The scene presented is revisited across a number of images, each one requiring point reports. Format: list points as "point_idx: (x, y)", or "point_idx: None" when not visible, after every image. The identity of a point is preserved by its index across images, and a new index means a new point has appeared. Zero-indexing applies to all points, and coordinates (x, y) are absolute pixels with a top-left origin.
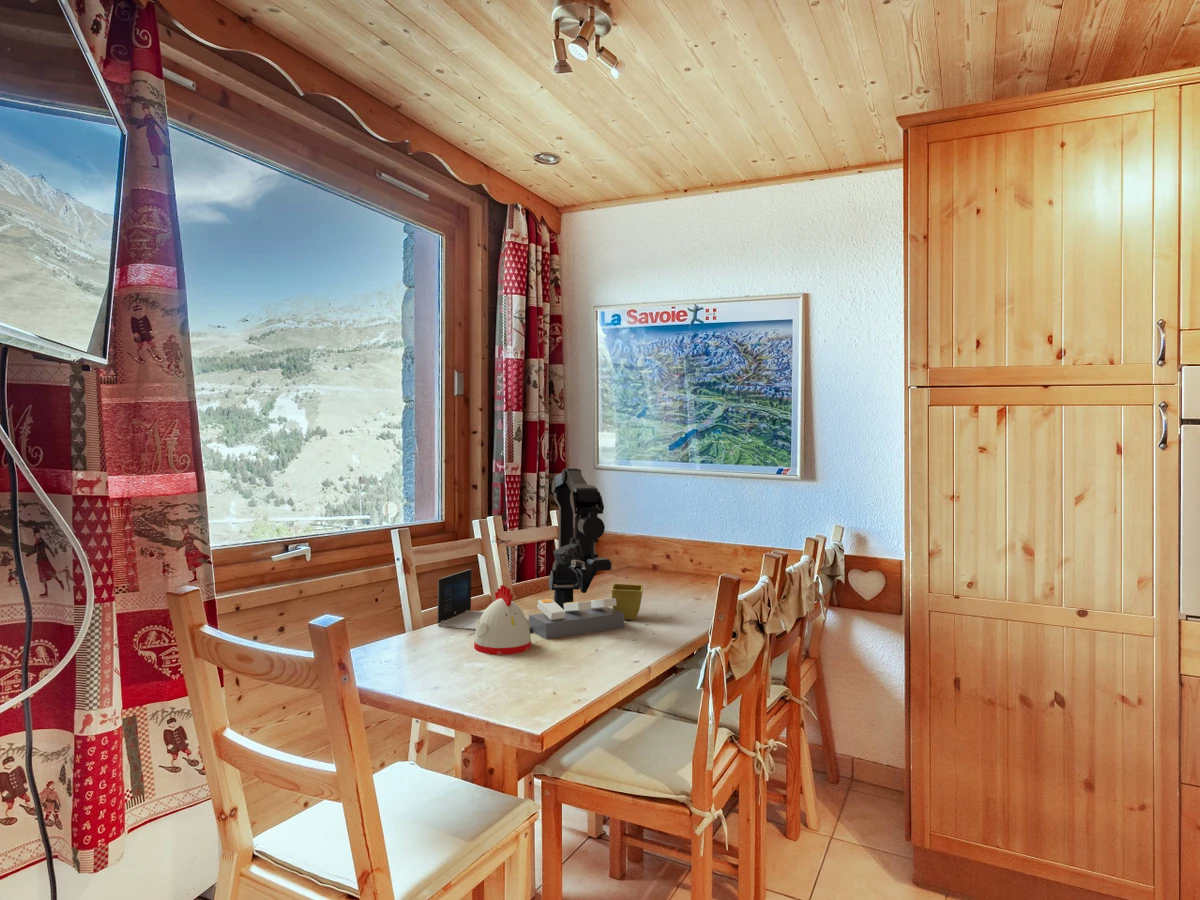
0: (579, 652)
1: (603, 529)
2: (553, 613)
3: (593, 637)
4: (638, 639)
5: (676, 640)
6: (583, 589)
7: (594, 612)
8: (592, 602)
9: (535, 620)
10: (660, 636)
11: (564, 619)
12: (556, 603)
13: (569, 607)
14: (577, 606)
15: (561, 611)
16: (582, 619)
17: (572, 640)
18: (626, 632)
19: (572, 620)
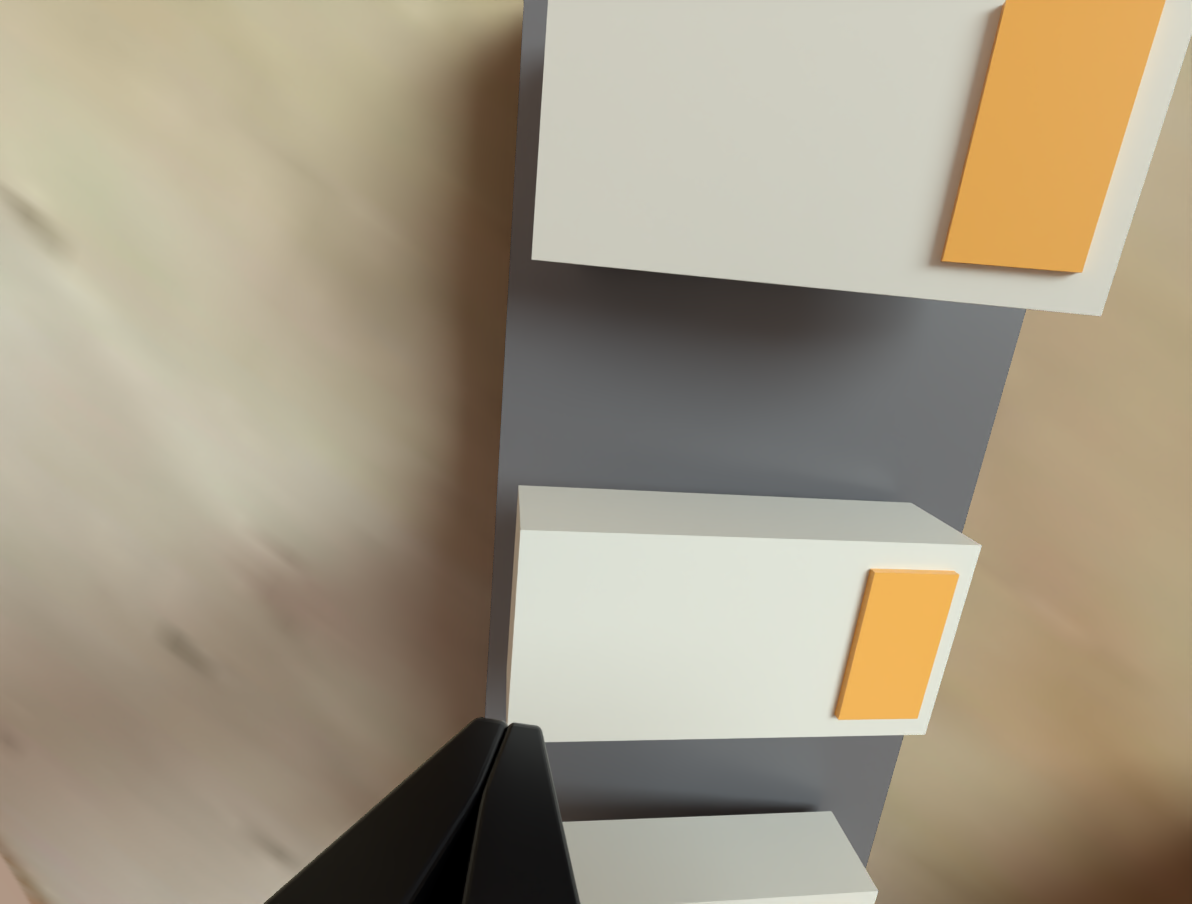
0: (11, 28)
1: None
2: (553, 21)
3: (384, 444)
4: (182, 679)
5: (68, 838)
6: (423, 774)
7: (660, 746)
8: (774, 870)
9: None
10: (190, 832)
11: (579, 269)
12: (848, 286)
13: (780, 511)
14: (542, 505)
15: (542, 188)
16: (498, 475)
17: (387, 219)
18: (386, 737)
19: (505, 340)
